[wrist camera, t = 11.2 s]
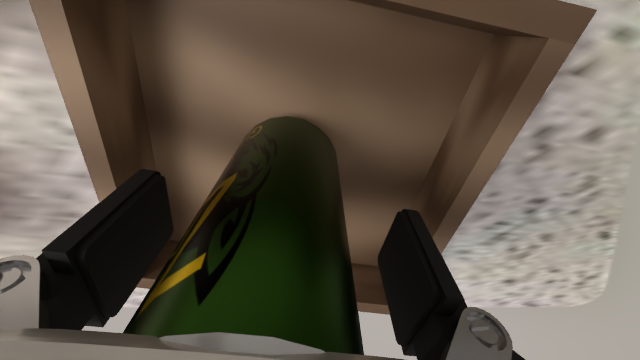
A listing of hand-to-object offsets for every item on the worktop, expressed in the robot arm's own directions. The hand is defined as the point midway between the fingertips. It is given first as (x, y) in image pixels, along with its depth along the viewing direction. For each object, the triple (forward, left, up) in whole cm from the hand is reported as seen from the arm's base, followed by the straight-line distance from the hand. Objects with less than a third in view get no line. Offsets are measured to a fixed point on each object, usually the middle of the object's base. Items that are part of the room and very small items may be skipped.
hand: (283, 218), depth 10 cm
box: (0, 0, -6) cm, 6 cm away
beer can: (0, 0, -5) cm, 5 cm away
